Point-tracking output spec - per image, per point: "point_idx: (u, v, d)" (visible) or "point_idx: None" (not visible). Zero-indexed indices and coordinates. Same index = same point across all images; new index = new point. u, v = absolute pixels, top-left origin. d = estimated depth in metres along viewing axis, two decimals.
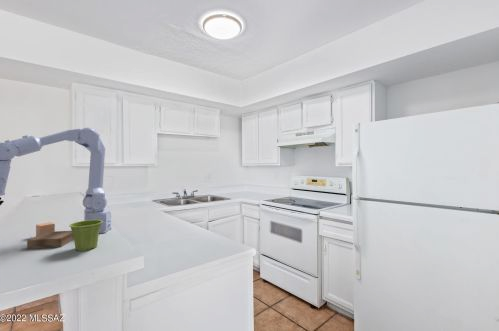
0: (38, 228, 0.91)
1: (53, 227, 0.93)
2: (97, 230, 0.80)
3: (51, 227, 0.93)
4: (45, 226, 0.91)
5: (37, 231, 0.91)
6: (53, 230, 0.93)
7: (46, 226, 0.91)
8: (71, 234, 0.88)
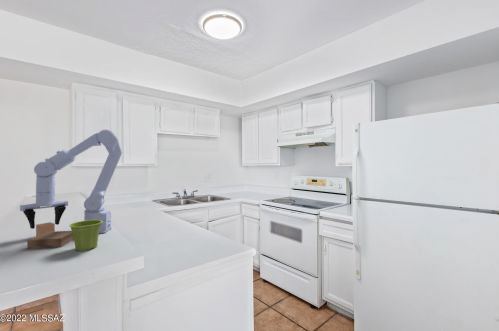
0: (38, 228, 0.91)
1: (53, 227, 0.93)
2: (97, 230, 0.80)
3: (51, 227, 0.93)
4: (45, 226, 0.91)
5: (37, 231, 0.91)
6: (53, 230, 0.93)
7: (46, 226, 0.91)
8: (71, 234, 0.88)
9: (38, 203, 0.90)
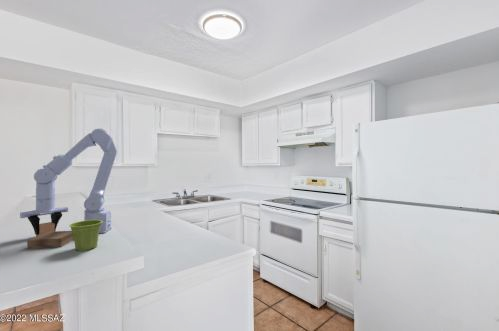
0: None
1: (53, 227, 0.93)
2: (97, 230, 0.80)
3: (51, 227, 0.93)
4: (45, 226, 0.91)
5: None
6: (53, 230, 0.93)
7: (46, 226, 0.91)
8: (71, 234, 0.88)
9: (38, 210, 0.90)
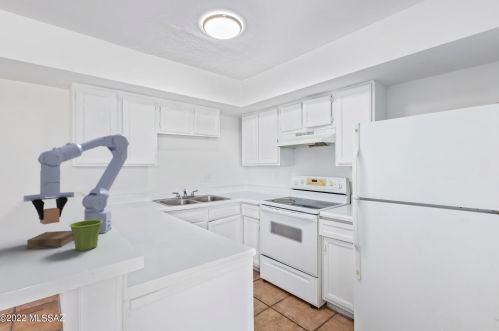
0: None
1: (58, 212, 0.88)
2: (97, 230, 0.80)
3: (56, 212, 0.88)
4: (49, 211, 0.86)
5: None
6: (58, 215, 0.88)
7: (50, 211, 0.87)
8: (71, 234, 0.88)
9: (43, 194, 0.85)
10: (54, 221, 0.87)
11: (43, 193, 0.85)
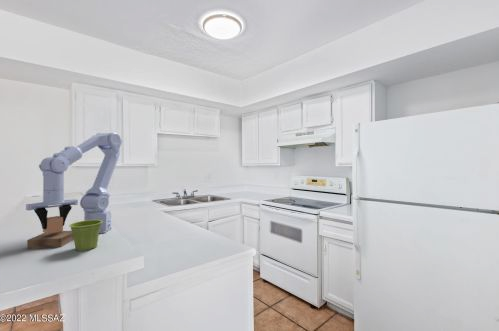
0: None
1: (61, 221, 0.85)
2: (97, 230, 0.80)
3: (60, 221, 0.85)
4: (53, 220, 0.83)
5: None
6: (61, 224, 0.85)
7: (54, 220, 0.84)
8: (71, 234, 0.88)
9: (46, 202, 0.82)
10: (58, 230, 0.84)
11: (46, 201, 0.82)
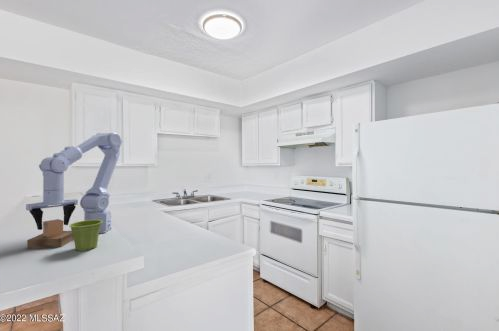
0: (45, 225, 0.83)
1: (62, 224, 0.85)
2: (97, 230, 0.80)
3: (60, 224, 0.85)
4: (53, 223, 0.83)
5: (44, 229, 0.83)
6: (62, 228, 0.85)
7: (54, 223, 0.84)
8: (71, 234, 0.88)
9: (46, 202, 0.82)
10: (58, 233, 0.84)
11: (46, 201, 0.82)
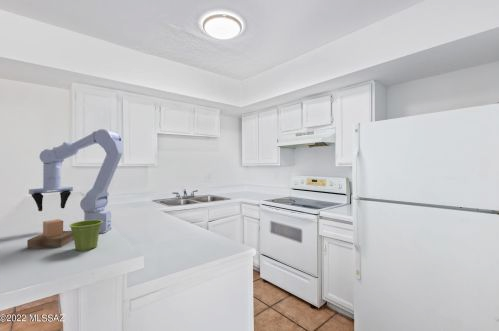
0: (45, 225, 0.83)
1: (62, 224, 0.85)
2: (97, 230, 0.80)
3: (60, 224, 0.85)
4: (53, 223, 0.83)
5: (44, 229, 0.83)
6: (62, 228, 0.85)
7: (54, 223, 0.84)
8: (71, 234, 0.88)
9: (45, 187, 0.97)
10: (58, 233, 0.84)
11: (46, 187, 0.97)
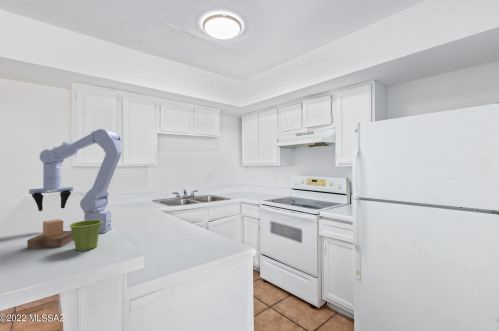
0: (45, 225, 0.83)
1: (62, 224, 0.85)
2: (97, 230, 0.80)
3: (60, 224, 0.85)
4: (53, 223, 0.83)
5: (44, 229, 0.83)
6: (62, 228, 0.85)
7: (54, 223, 0.84)
8: (71, 234, 0.88)
9: (45, 188, 0.97)
10: (58, 233, 0.84)
11: (46, 187, 0.97)
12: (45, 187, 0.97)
